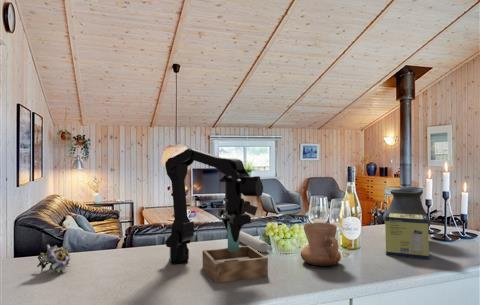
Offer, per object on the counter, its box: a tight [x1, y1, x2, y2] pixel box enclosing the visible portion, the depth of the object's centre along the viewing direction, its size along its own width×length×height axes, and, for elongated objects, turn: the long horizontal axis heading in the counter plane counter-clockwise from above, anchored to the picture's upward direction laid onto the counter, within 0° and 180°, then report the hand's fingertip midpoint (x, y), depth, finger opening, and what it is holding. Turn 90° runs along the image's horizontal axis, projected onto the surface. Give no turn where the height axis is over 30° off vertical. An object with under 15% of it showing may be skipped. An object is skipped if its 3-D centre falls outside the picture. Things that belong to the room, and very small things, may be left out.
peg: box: [227, 221, 240, 252], centre depth 117 cm, size 4×4×10 cm
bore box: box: [202, 245, 269, 284], centre depth 117 cm, size 18×17×6 cm
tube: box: [239, 229, 269, 254], centre depth 150 cm, size 5×5×25 cm
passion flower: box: [36, 244, 71, 275], centre depth 117 cm, size 11×11×12 cm
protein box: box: [384, 213, 430, 261], centre depth 137 cm, size 10×16×16 cm
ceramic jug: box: [300, 221, 342, 267], centre depth 125 cm, size 18×14×14 cm
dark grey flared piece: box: [382, 185, 432, 230], centre depth 160 cm, size 21×22×25 cm
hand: (233, 240), depth 117 cm, fingers closed on peg, 4 cm apart
